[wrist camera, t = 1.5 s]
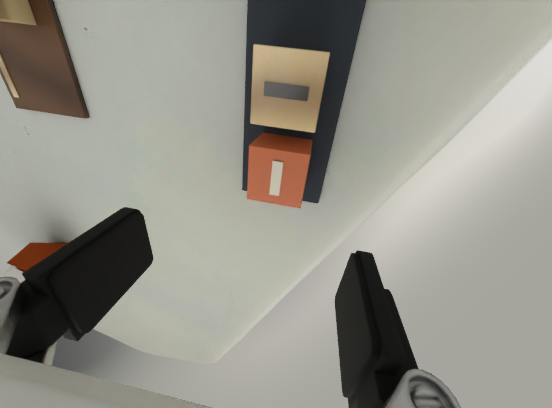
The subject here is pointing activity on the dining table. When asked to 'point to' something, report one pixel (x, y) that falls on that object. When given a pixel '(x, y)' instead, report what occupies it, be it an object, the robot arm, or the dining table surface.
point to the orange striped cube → (278, 169)
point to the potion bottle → (30, 258)
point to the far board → (40, 64)
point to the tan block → (287, 87)
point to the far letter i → (16, 12)
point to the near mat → (311, 36)
